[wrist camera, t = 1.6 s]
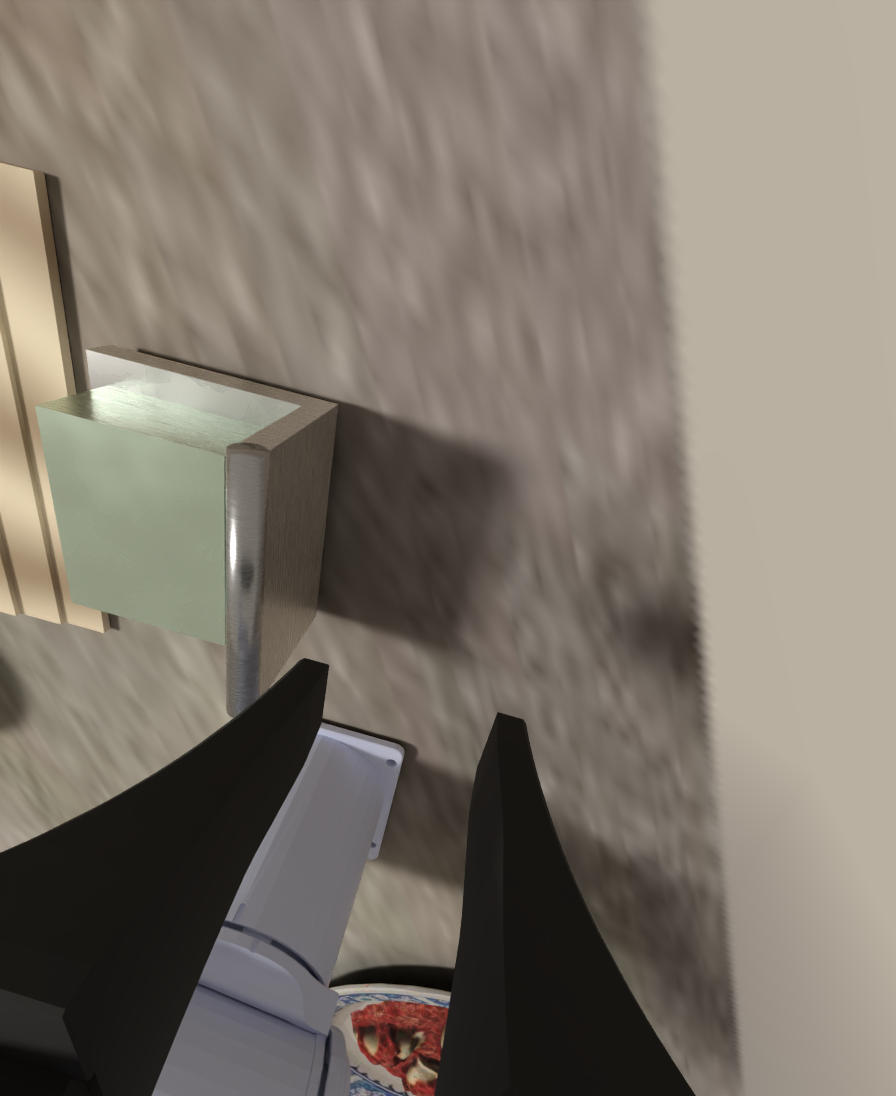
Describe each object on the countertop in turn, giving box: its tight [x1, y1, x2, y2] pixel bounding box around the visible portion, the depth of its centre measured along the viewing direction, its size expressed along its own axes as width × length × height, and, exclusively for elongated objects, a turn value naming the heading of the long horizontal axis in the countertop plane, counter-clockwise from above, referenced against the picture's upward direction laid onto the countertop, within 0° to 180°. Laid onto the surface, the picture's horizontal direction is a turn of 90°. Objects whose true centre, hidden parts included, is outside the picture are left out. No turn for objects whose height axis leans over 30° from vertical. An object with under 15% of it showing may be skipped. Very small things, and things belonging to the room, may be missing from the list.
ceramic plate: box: [329, 983, 451, 1096], centre depth 40 cm, size 26×26×3 cm
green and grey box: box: [35, 345, 338, 718], centre depth 17 cm, size 9×8×6 cm
